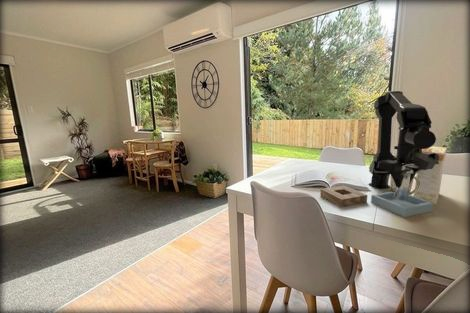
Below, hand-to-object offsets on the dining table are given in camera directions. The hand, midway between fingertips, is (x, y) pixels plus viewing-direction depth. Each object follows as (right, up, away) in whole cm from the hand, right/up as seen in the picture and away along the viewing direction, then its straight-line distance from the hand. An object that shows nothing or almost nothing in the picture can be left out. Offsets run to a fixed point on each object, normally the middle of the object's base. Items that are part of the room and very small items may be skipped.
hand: (402, 186), depth 81 cm
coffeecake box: (+17, -6, +9) cm, 20 cm away
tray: (0, -7, +1) cm, 8 cm away
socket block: (-17, -6, +10) cm, 20 cm away
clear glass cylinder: (0, -4, +1) cm, 5 cm away
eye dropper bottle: (+23, +1, +38) cm, 44 cm away
